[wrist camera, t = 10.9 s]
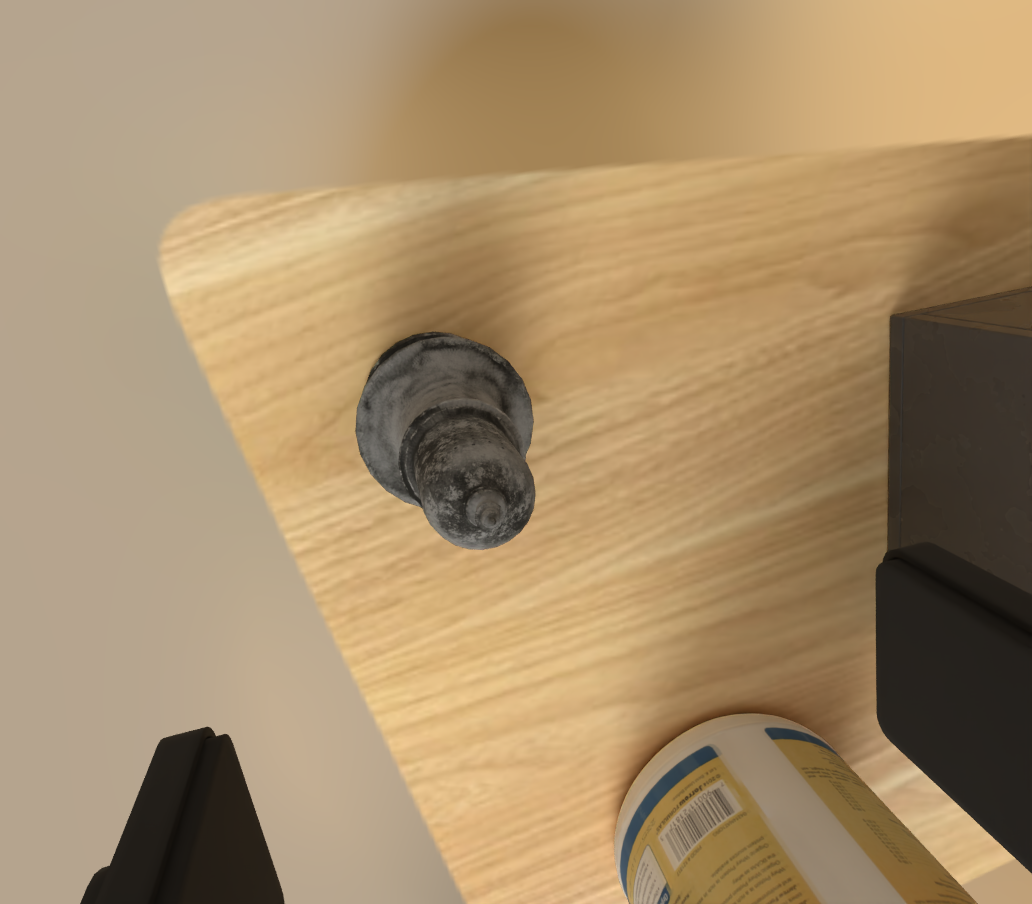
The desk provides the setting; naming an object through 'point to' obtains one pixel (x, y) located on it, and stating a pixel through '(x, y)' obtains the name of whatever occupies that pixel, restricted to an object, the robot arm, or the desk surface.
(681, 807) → the supplement tub
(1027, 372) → the chest
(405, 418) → the chess piece
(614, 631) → the desk surface
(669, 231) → the desk surface
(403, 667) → the desk surface
